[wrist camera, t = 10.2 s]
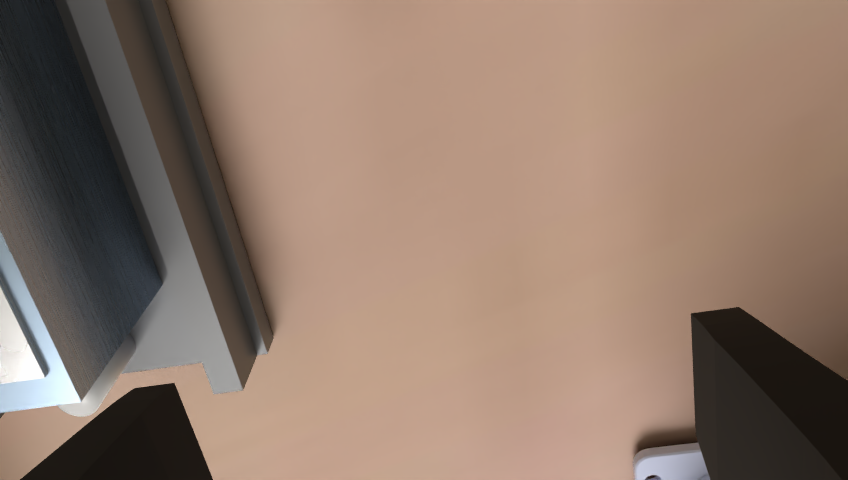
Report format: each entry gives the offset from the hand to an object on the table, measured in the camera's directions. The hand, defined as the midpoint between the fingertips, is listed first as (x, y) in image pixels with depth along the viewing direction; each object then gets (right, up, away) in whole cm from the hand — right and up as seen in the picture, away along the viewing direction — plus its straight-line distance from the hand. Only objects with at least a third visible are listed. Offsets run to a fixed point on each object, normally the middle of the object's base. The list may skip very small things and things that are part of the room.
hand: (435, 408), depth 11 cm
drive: (-10, +4, +8) cm, 14 cm away
